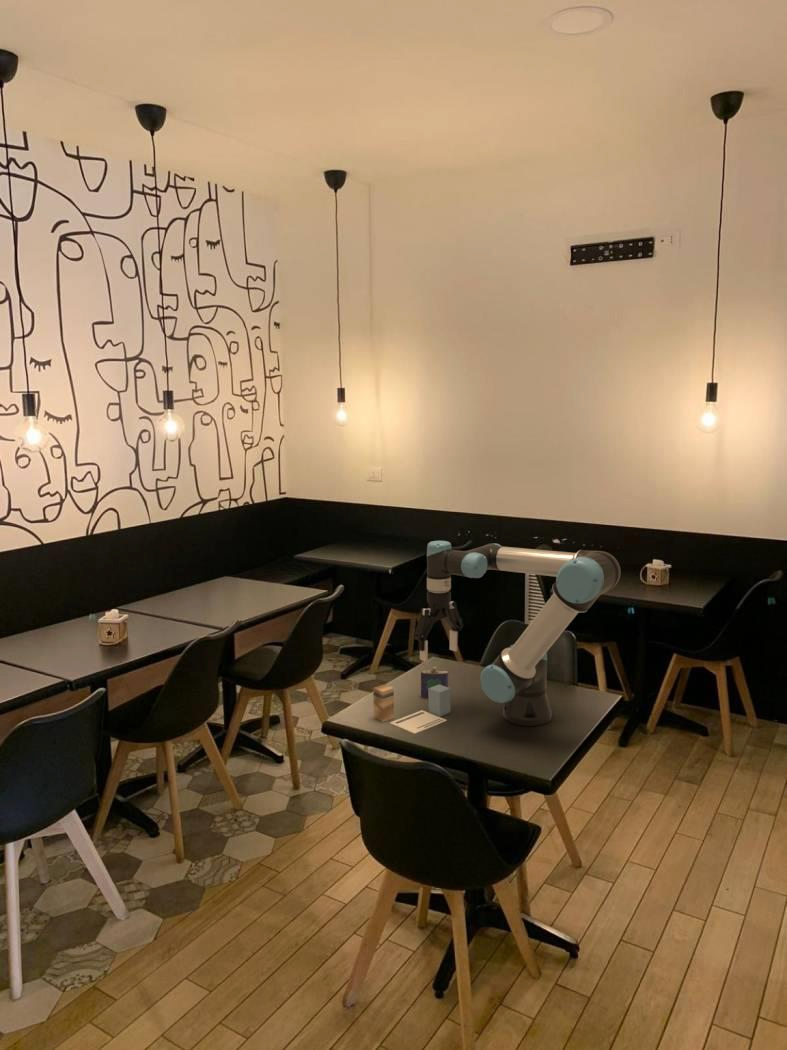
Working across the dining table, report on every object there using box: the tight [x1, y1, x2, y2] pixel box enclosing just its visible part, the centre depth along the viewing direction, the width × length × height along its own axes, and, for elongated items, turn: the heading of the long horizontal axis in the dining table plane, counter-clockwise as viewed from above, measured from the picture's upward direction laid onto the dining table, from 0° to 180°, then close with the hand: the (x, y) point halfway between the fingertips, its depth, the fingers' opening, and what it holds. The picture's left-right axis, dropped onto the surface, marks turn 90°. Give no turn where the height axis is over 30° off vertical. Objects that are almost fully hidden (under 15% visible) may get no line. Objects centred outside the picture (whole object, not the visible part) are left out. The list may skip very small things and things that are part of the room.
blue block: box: [427, 685, 452, 717], centre depth 253 cm, size 5×5×8 cm
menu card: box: [389, 709, 448, 735], centre depth 246 cm, size 11×14×1 cm
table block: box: [372, 684, 395, 723], centre depth 249 cm, size 4×4×10 cm
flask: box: [420, 666, 449, 699], centre depth 266 cm, size 9×3×11 cm, turn 88°
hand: (438, 655), depth 251 cm, fingers open, 13 cm apart
